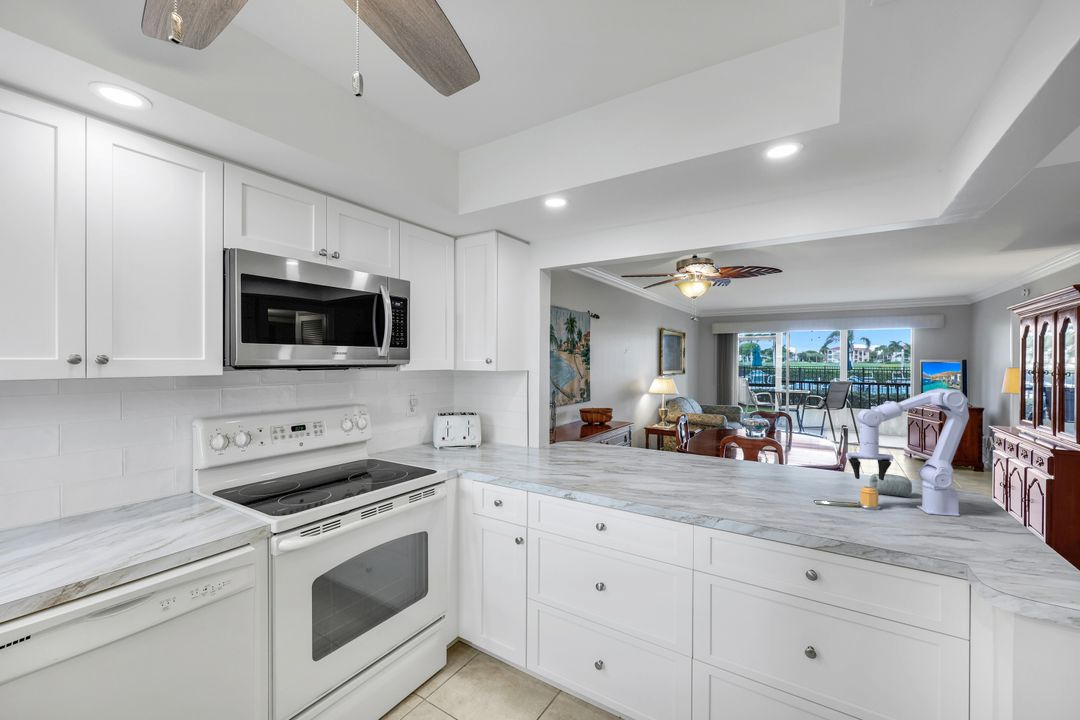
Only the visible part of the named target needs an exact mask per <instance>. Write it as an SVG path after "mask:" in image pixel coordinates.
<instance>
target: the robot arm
mask: <svg viewBox="0 0 1080 720" xmlns="http://www.w3.org/2000/svg"><path fill="white" fill-rule="evenodd" d="M968 401H969V399H968V398H967V396H966V395H965V394H964V393H963V392H961V391H960V390H957V389H947V388H943V387H942V388H941V387H939V388H934V389H930V390H927V391H924V392H923V393H920V394H917V395H914V396H912V397H909V398H906V399H904V400H902V401H899V402H896V401H893V400H892V401H889V400H886V401H884V403H882V404H880V405H877V406H874V405H873V406H870V409H867V408H865V409H862V410H860V411H859V412H858V414H857V416H856V419H857V421H858V422H859V452H846V453H845V458H846V459H847V460H848V462H849V464H850V465H851V468H852V470H853V474H854V478H855V479H857V480H860V478H861V476H860V475H861V474H860V468H861V461H860V460H872V461H873V460H874V461H875V460H876V461H877V464H878V465H877V466H878V474H879V479H880V480H884V476H885V474H887V472H888V469H889V468H890V466H891V465H892V462H894V455H892V454H888V453H887V454H885V453H880V451H879V450H880V442H879V440H880V439H879V437H880V429H879V428H880V427H879V426H881V424H882V423H884V422H887V421H889V420H892V419H895V418H898V417H902V415H903V413H904V411H905V412H906V411H908V410H913V409H915V408H916V409H917V408H918V407H922V406H925V405H926V406H927V405H935V406H936V407H938V408H939V409H941V410H942V412H943V413H944V414H945V415H946V420H945V422H944V425H943V427H942V429H941V431H940V435H939V437H938V440H937V442H936V445H935V446H934V447H935V448H934V451H933V452H932V455H931V457H930V458H929V459H927V460H925V463H924V464H923V466H921V467H920V468H919V469H918V477H919V478H920V480H921V481H922V482H921V483H922V484H921V505H916V507H917V508H918V509H919V510H921V511H923V512H925V513H926V514H928V515H938V516H939V515H942V516H953V517H954V516H955V517H960V516H961V514H959V511H960V510H959V505H960V504H959V503H960V502H959V501H960V500H959V497H960V496H959V494H958V491H957V490H956V489H955V487H951V486H952V485H953V483H954V478H953V477H954V476H953V474H954V468H953V466H952V462H953V460H954V456H955V455H956V452H957V449H958V448H959V444H960V442H961V439H962V436H963V434H964V431H965V429H966V426H967V424H968V421H969V418H970V414H969V408H968Z"/></svg>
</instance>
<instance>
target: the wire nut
mask: <svg viewBox="0 0 1080 720" xmlns="http://www.w3.org/2000/svg"><path fill="white" fill-rule="evenodd" d="M859 494H860V495H859V498H860V500H859V502H860V503H861V504H862V505H866V506H872V507H876V506H878V504H879V494H878V491H877V490H876V489H875V488H873V487H870V486H862V487H861V488H860V491H859Z"/></svg>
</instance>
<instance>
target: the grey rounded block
mask: <svg viewBox="0 0 1080 720" xmlns="http://www.w3.org/2000/svg"><path fill="white" fill-rule="evenodd" d="M869 487H873V488H875V489H876V490H877V491H878V495H880V494H881V495H887V496H888V495H889V496H896V497H905V498H907V497H910V496H912V494H913V493H912V492H913V483H912V481H911V480H910V479H909V478H908V477H906V476H902V475H897V474H890V473H886V474H885V476H884V480H880V479H879V473H874V474H872V475H870V477H869Z"/></svg>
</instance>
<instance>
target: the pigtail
mask: <svg viewBox="0 0 1080 720" xmlns="http://www.w3.org/2000/svg"><path fill="white" fill-rule="evenodd" d="M813 503H815V505H816V506H817V505H821V506H832V507H833V506H834V507H846V508H847V507H849V508H850V507H851V508H860V509H865V510H868V511H880V510H882V506H881V504H879V503H878V506H876V507H872V506H866V505H862V504H861V503H860V501H858V502H849V501H848V502H847V501H836V500H834V501H833V500H820V499H814V500H813Z"/></svg>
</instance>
